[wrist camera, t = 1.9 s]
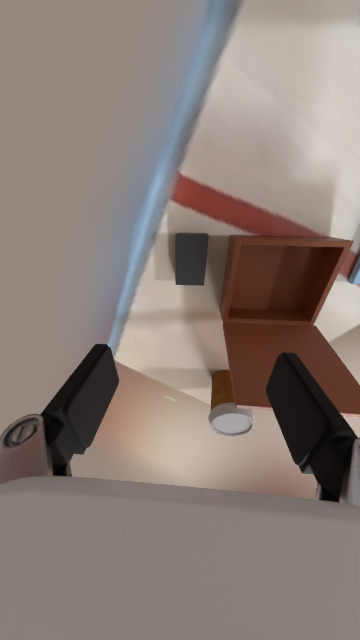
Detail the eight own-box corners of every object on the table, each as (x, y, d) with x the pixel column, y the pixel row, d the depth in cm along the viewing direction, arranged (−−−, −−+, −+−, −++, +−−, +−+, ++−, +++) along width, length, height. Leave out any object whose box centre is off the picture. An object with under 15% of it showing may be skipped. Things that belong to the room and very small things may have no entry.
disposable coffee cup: (235, 393, 48) (246, 441, 38) (202, 386, 48) (203, 433, 38) (249, 369, 43) (265, 417, 33) (211, 362, 43) (216, 407, 33)
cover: (236, 405, 20) (235, 408, 21) (383, 416, 19) (377, 419, 20) (223, 321, 31) (222, 324, 31) (315, 325, 30) (313, 329, 30)
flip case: (230, 235, 29) (235, 238, 25) (330, 237, 28) (353, 241, 24) (219, 309, 36) (222, 321, 32) (299, 312, 35) (313, 325, 31)
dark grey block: (177, 232, 29) (175, 234, 27) (207, 233, 29) (208, 235, 27) (177, 279, 33) (175, 284, 31) (203, 280, 33) (204, 285, 31)
